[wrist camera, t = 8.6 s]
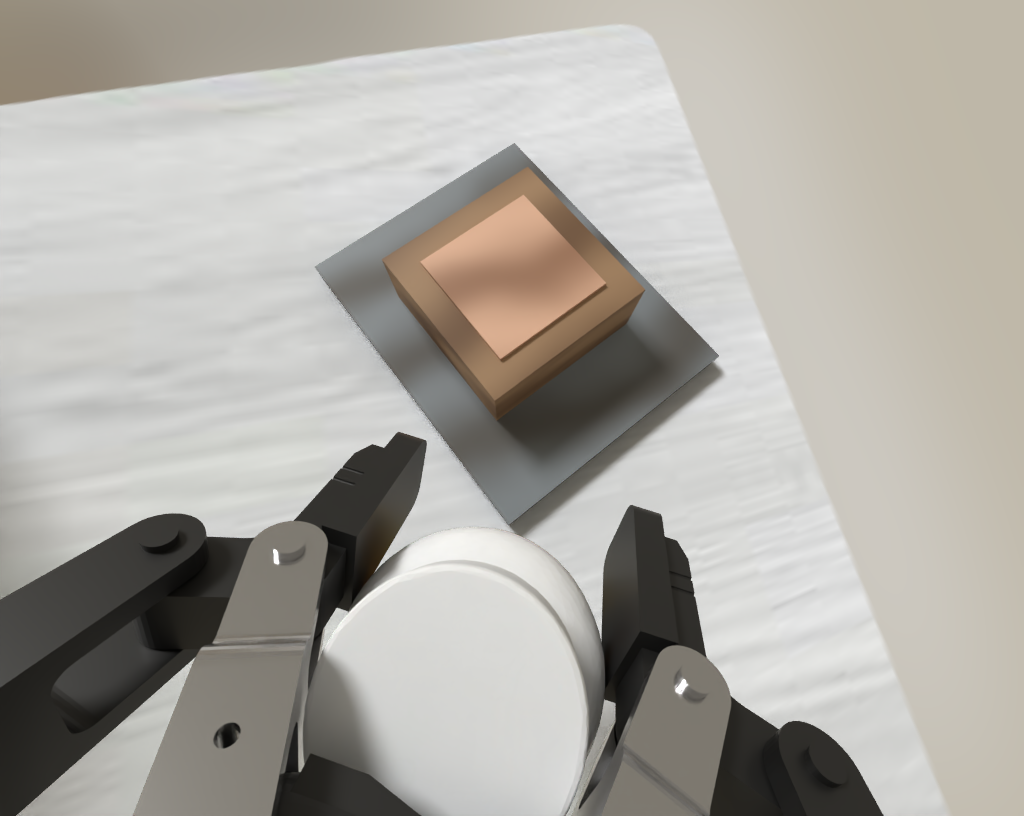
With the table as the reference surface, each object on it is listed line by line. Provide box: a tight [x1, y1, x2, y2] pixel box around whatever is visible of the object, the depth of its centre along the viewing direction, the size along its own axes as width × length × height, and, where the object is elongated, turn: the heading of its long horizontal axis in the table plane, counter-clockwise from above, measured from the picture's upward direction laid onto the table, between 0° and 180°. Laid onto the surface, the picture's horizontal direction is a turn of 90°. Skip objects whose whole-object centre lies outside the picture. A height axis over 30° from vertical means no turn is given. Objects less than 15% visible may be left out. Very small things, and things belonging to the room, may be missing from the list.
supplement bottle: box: [303, 527, 605, 816], centre depth 11 cm, size 5×5×10 cm
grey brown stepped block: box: [315, 143, 719, 525], centre depth 27 cm, size 20×16×5 cm
